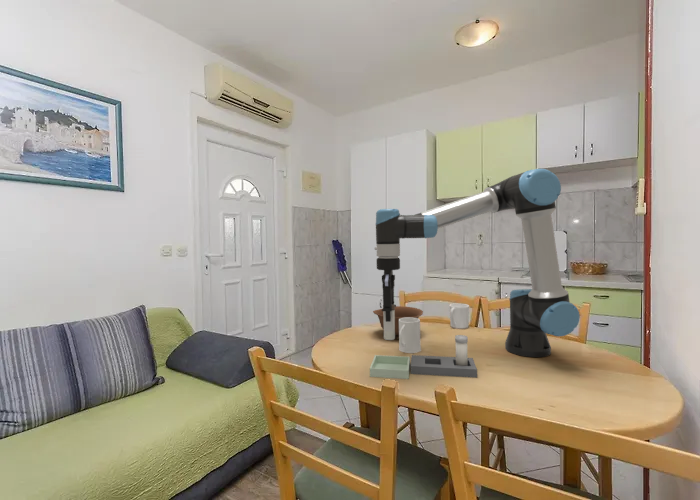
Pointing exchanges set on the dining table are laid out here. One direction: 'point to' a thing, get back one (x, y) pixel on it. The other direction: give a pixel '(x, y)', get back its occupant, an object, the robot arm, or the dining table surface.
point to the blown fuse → (391, 334)
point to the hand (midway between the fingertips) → (389, 328)
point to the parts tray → (390, 367)
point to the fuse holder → (446, 362)
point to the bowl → (399, 316)
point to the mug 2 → (459, 315)
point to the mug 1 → (409, 335)
